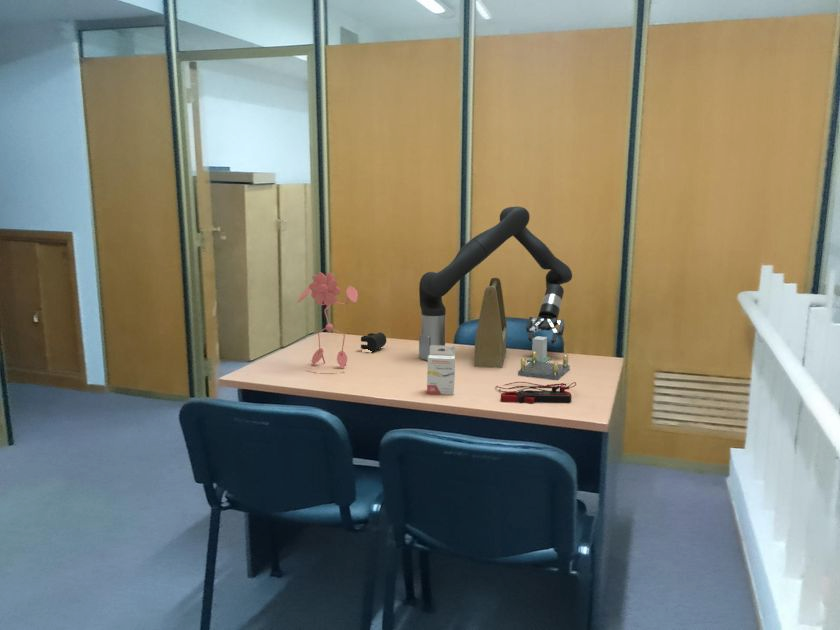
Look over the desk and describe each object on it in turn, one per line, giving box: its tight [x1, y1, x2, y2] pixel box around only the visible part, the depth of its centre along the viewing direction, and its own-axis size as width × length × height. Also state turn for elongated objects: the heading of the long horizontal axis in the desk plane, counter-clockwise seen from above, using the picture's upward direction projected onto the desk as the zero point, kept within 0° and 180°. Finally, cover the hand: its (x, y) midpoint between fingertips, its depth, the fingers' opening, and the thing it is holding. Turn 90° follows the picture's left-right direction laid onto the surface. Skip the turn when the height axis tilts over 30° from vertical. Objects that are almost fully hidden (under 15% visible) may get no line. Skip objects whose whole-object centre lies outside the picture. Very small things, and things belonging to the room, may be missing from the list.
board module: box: [526, 335, 552, 363], centre depth 254 cm, size 7×9×9 cm
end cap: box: [360, 331, 387, 352], centre depth 271 cm, size 10×7×7 cm
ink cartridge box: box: [426, 345, 456, 395], centre depth 210 cm, size 9×5×15 cm, turn 84°
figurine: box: [296, 271, 359, 375], centre depth 238 cm, size 15×26×35 cm, turn 66°
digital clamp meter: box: [495, 381, 577, 404], centre depth 211 cm, size 23×4×25 cm
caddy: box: [474, 277, 508, 369], centre depth 256 cm, size 29×11×30 cm, turn 170°
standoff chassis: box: [517, 351, 571, 381], centre depth 237 cm, size 14×17×6 cm
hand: (541, 341), depth 256 cm, fingers open, 8 cm apart
